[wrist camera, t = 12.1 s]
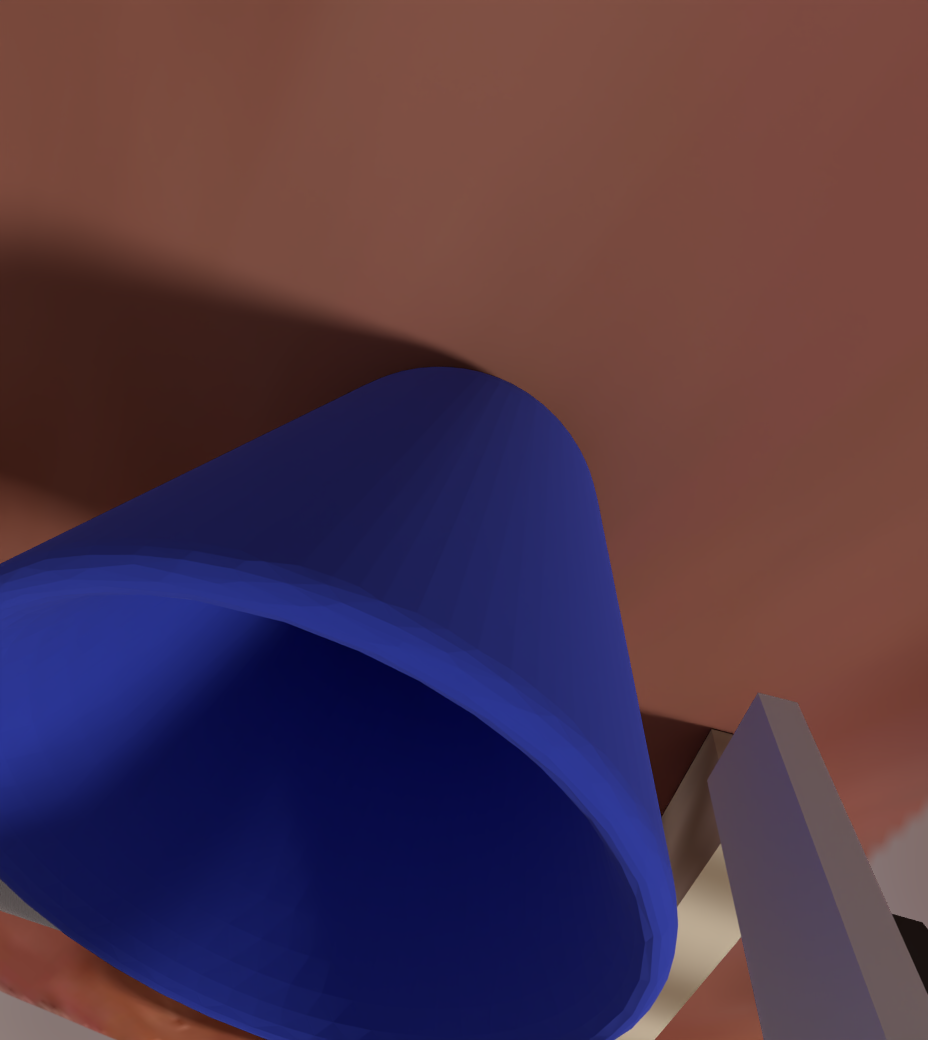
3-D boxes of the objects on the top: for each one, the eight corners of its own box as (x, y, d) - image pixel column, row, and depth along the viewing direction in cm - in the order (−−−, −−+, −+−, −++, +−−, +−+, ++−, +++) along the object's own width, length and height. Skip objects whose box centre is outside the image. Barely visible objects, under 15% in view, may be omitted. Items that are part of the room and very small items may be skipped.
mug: (383, 709, 19) (211, 1119, 10) (268, 350, 14) (-287, 578, 5) (635, 717, 17) (680, 1238, 8) (614, 296, 12) (684, 529, 3)
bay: (155, 582, 18) (82, 642, 16) (780, 747, 16) (816, 847, 14) (200, 875, 27) (159, 944, 25) (607, 1004, 25) (608, 1093, 23)
